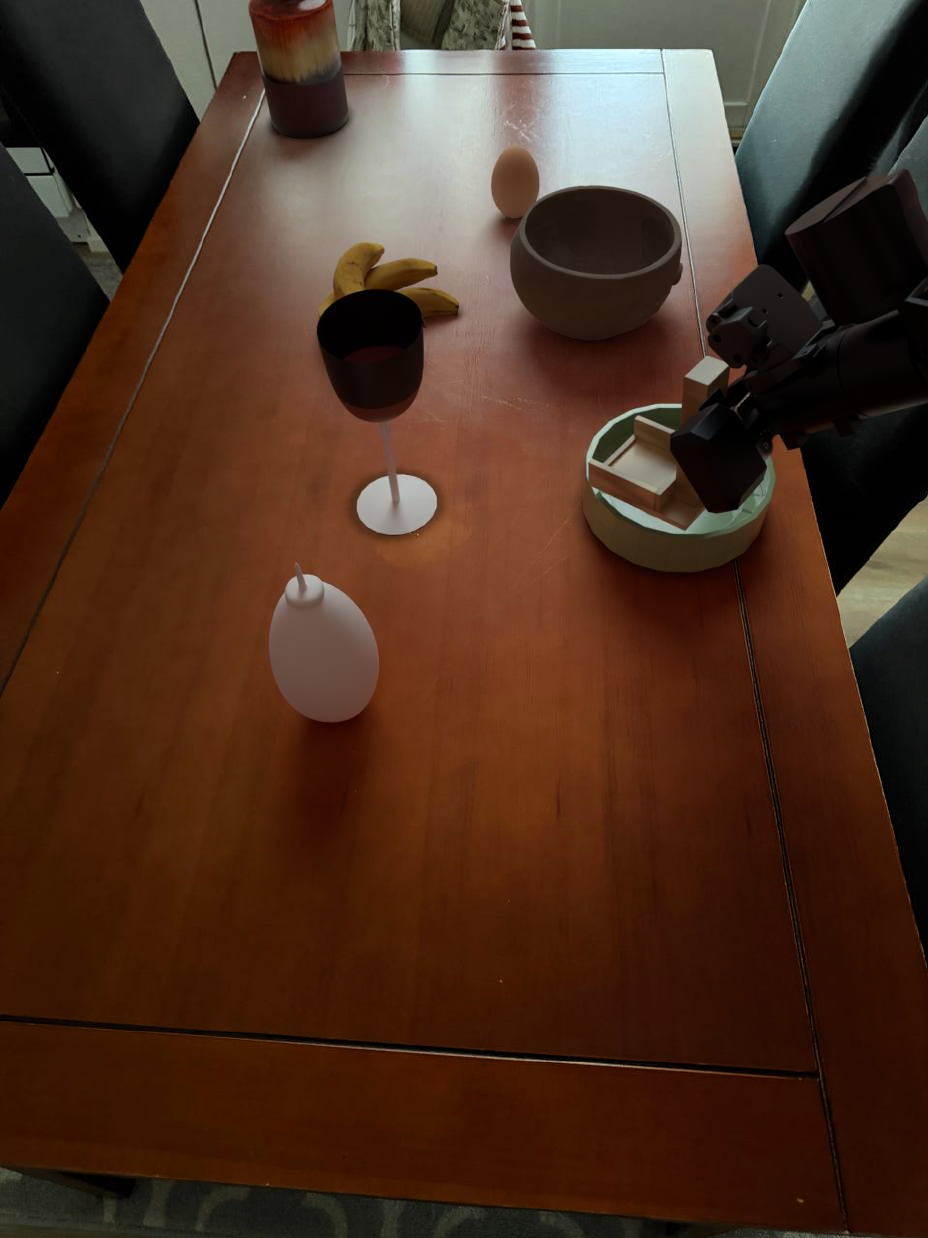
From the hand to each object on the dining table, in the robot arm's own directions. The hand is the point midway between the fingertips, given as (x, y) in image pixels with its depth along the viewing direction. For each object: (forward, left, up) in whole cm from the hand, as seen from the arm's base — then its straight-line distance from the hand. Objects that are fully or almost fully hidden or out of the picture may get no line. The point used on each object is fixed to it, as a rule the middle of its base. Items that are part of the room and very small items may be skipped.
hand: (685, 427), depth 69 cm
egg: (+29, -44, -14) cm, 55 cm away
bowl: (+15, -29, -14) cm, 36 cm away
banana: (+35, -20, -14) cm, 43 cm away
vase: (+64, -58, -14) cm, 88 cm away
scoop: (+1, 0, -7) cm, 7 cm away
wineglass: (+24, +4, -14) cm, 28 cm away
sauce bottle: (+20, +25, -14) cm, 35 cm away
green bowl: (0, -4, -13) cm, 14 cm away
